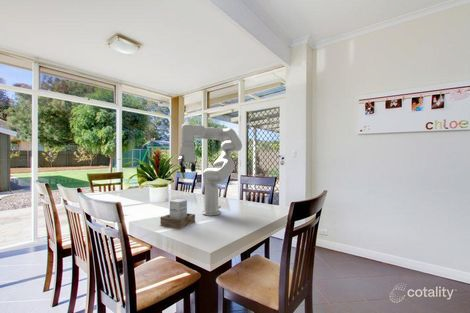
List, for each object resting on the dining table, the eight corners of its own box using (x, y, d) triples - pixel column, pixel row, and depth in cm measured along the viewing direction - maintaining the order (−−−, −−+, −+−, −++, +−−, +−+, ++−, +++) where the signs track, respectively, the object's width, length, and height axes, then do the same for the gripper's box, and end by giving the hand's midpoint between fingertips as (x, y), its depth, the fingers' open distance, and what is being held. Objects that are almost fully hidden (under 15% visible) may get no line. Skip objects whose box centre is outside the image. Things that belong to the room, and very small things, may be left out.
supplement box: (169, 222, 129) (169, 200, 129) (178, 219, 135) (178, 198, 135) (178, 224, 125) (178, 201, 125) (187, 220, 132) (187, 199, 132)
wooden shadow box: (177, 218, 140) (177, 211, 140) (195, 221, 133) (195, 214, 133) (160, 224, 127) (160, 217, 127) (179, 228, 121) (179, 220, 121)
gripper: (192, 144, 145) (192, 170, 145) (173, 144, 129) (173, 173, 130) (201, 144, 141) (201, 171, 141) (183, 143, 126) (183, 173, 126)
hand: (188, 172), depth 135 cm, fingers open, 9 cm apart
